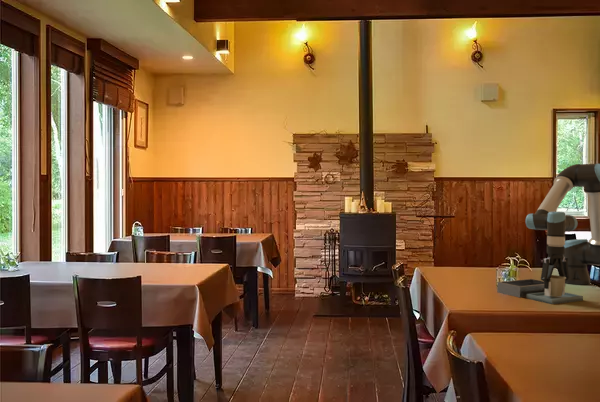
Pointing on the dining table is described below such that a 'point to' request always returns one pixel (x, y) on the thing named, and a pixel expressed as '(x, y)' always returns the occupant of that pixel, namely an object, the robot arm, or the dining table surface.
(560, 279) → the flower pot
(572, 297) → the tray
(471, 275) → the dining table surface
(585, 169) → the robot arm
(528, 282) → the metal holder
